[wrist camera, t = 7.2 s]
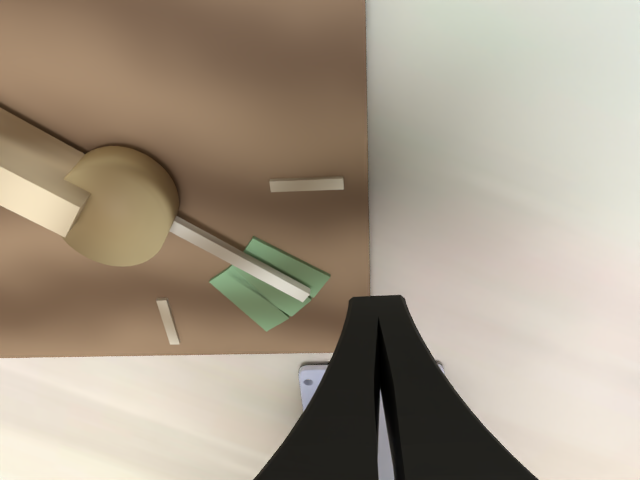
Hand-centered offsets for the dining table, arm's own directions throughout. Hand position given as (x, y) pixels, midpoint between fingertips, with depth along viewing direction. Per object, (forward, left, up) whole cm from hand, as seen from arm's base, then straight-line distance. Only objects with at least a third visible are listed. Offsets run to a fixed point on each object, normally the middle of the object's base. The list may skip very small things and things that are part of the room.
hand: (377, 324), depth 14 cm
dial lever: (0, +11, -9) cm, 14 cm away
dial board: (-1, +10, -10) cm, 14 cm away
